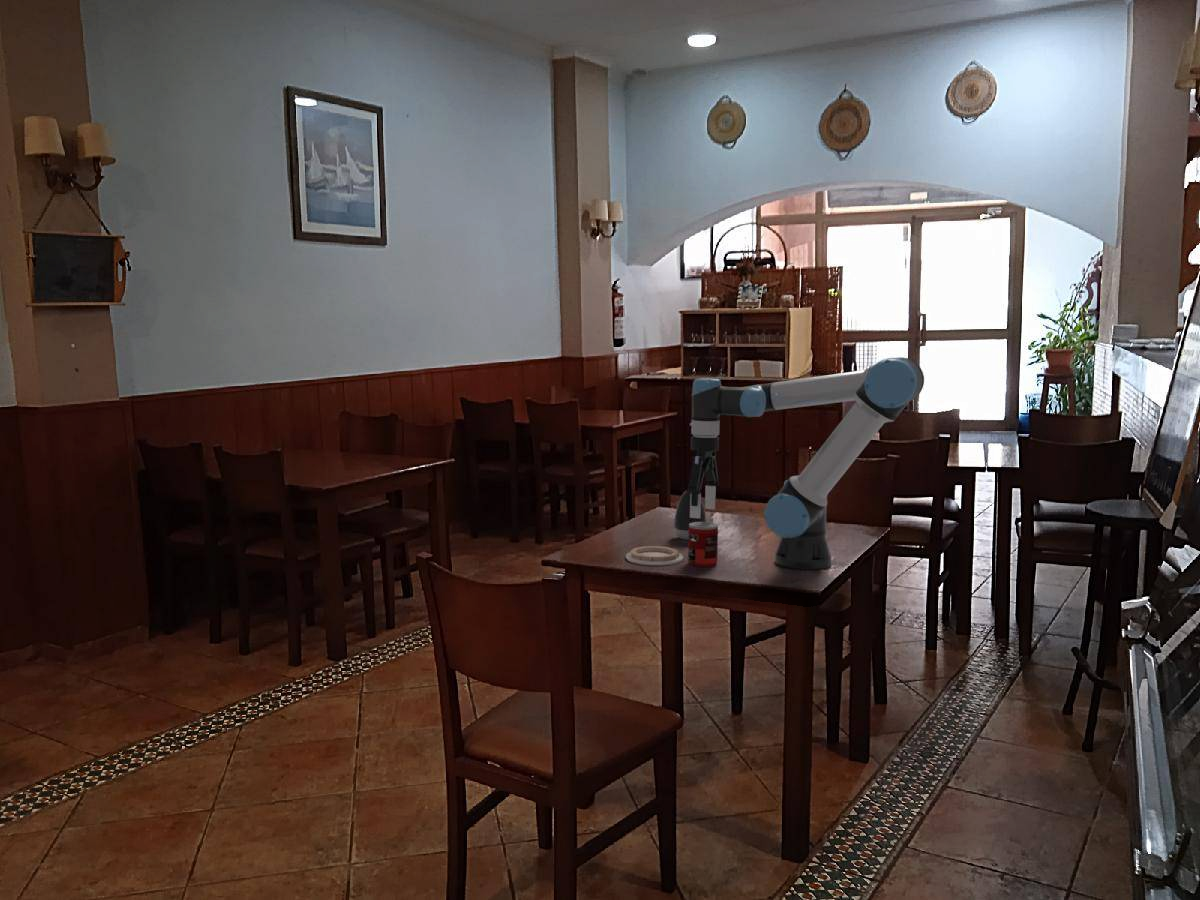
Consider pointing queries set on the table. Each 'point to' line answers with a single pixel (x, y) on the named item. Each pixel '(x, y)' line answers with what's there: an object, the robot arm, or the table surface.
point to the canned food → (702, 544)
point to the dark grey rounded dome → (686, 516)
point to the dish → (654, 556)
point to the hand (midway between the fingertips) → (702, 513)
